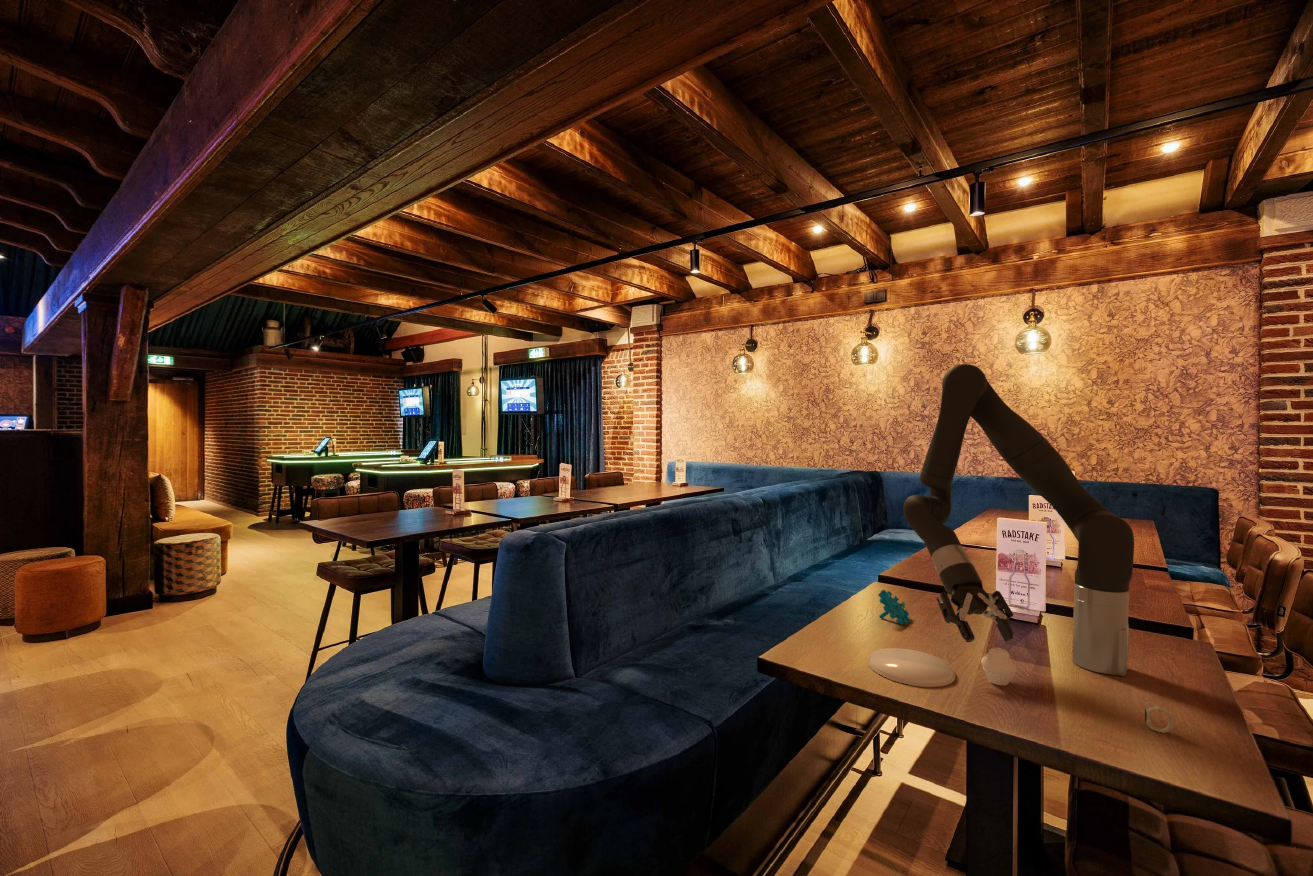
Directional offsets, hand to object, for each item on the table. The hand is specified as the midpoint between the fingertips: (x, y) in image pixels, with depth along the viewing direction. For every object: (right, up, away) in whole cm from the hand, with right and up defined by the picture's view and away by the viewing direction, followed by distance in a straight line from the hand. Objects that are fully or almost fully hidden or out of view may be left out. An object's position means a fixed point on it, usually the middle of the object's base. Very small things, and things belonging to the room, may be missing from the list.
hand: (990, 640), depth 116 cm
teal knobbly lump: (-6, -7, +33) cm, 34 cm away
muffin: (0, -8, -2) cm, 8 cm away
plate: (-15, -7, +4) cm, 17 cm away
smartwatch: (+17, -8, -20) cm, 27 cm away
